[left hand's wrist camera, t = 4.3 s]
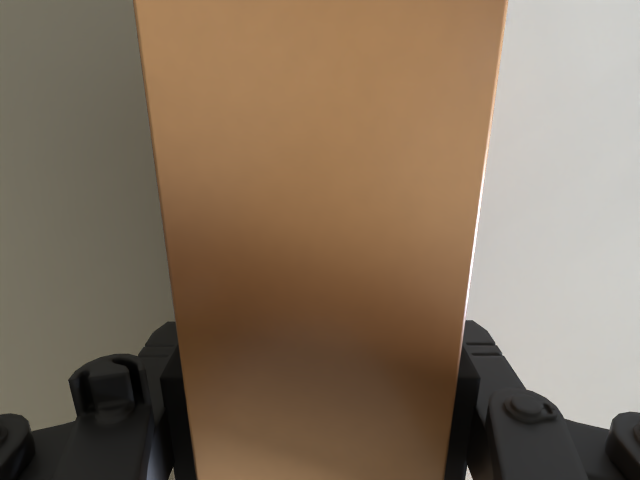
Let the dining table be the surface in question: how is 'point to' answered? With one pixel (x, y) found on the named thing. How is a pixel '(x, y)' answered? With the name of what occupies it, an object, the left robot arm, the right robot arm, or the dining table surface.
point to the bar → (320, 223)
